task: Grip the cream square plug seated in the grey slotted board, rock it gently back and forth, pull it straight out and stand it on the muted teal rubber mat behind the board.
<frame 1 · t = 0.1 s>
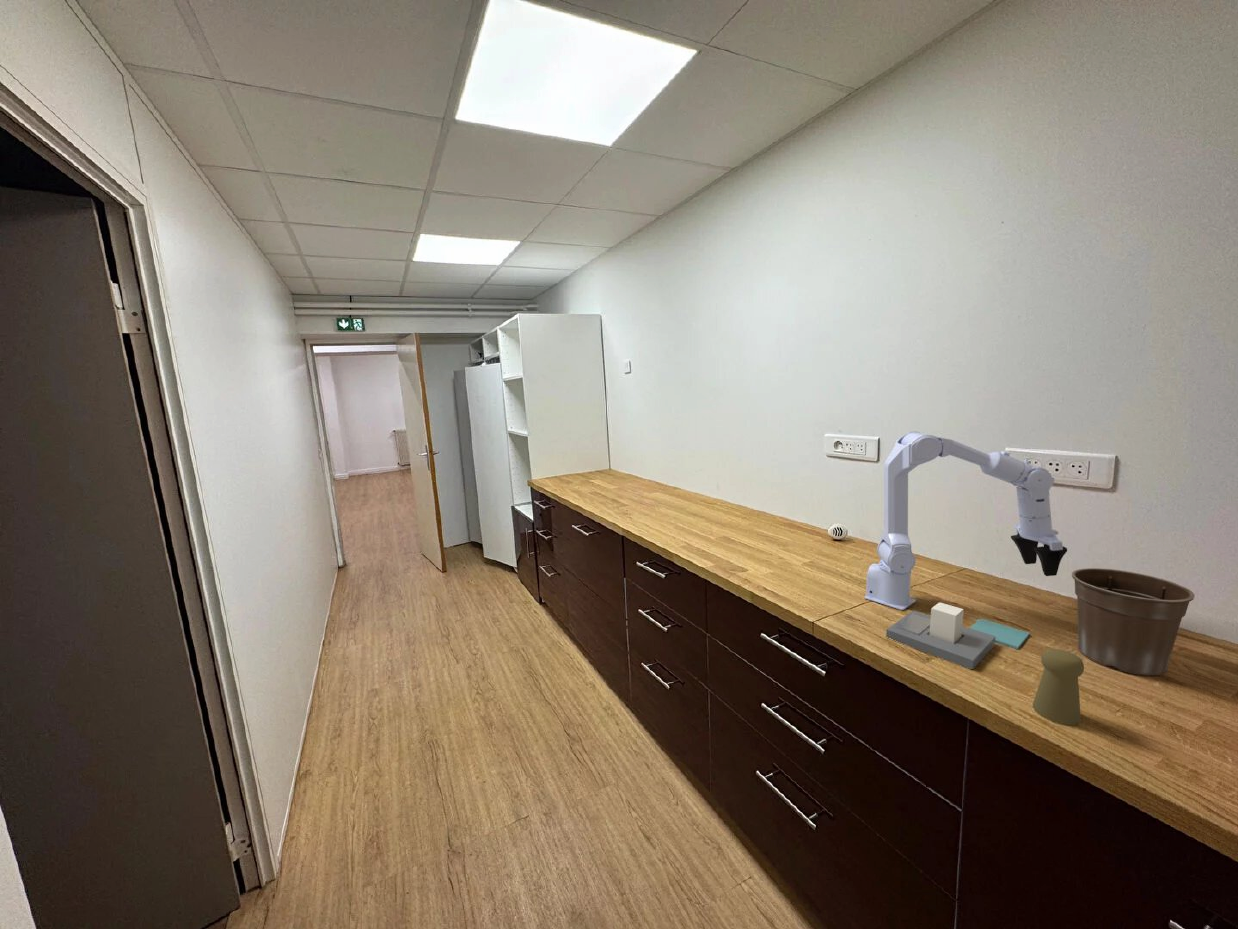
hand: (1040, 569, 113), 11 cm above the worktop, fingers open, 7 cm apart
cork: (1056, 714, 79), on the worktop
plug: (944, 643, 102), resting in grey slotted board
mat: (997, 633, 105), on the worktop
grey slotted board: (929, 637, 104), on the worktop
plant pot: (1118, 659, 94), on the worktop
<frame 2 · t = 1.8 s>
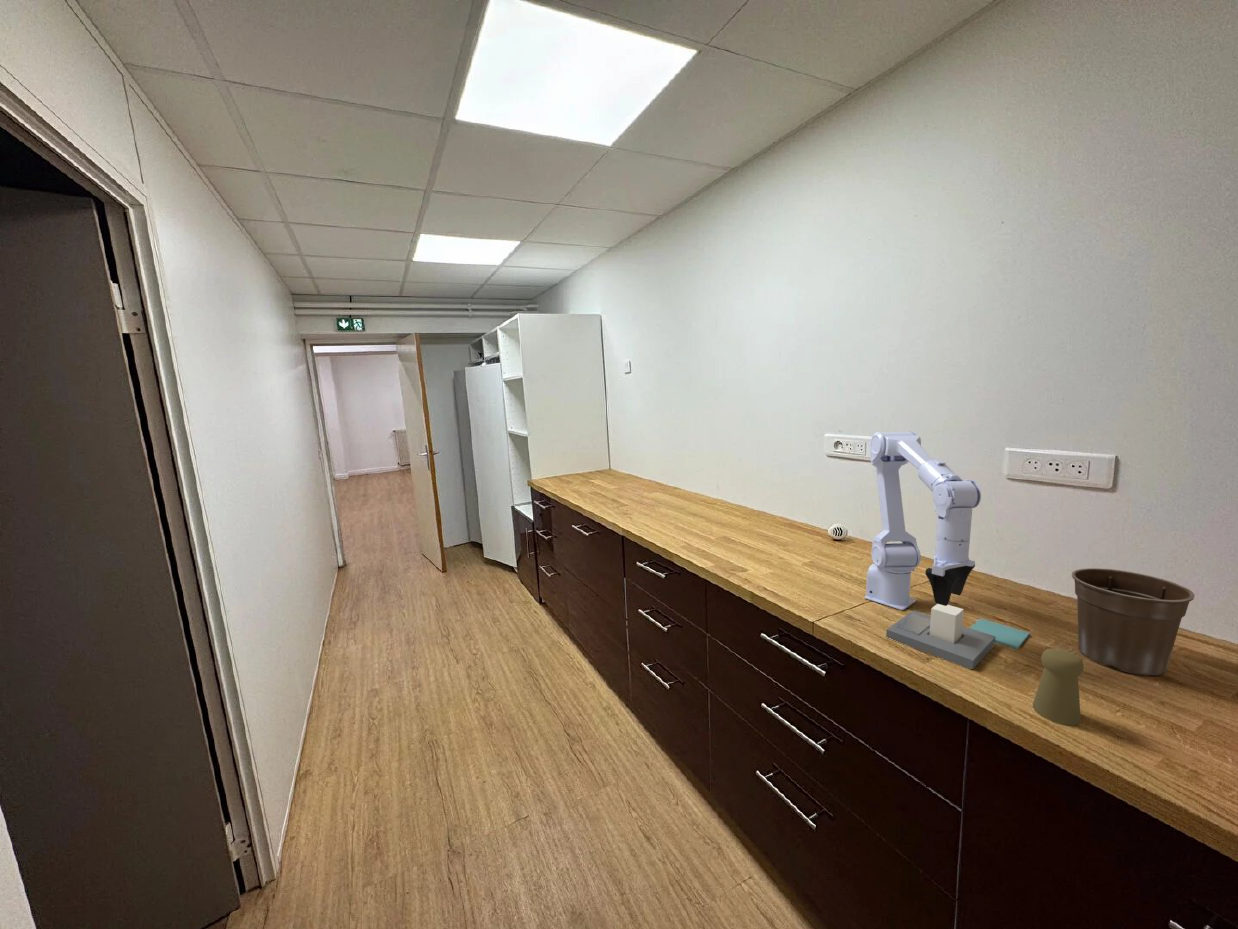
hand: (948, 598, 100), 10 cm above the worktop, fingers open, 7 cm apart
nothing on the worktop moved.
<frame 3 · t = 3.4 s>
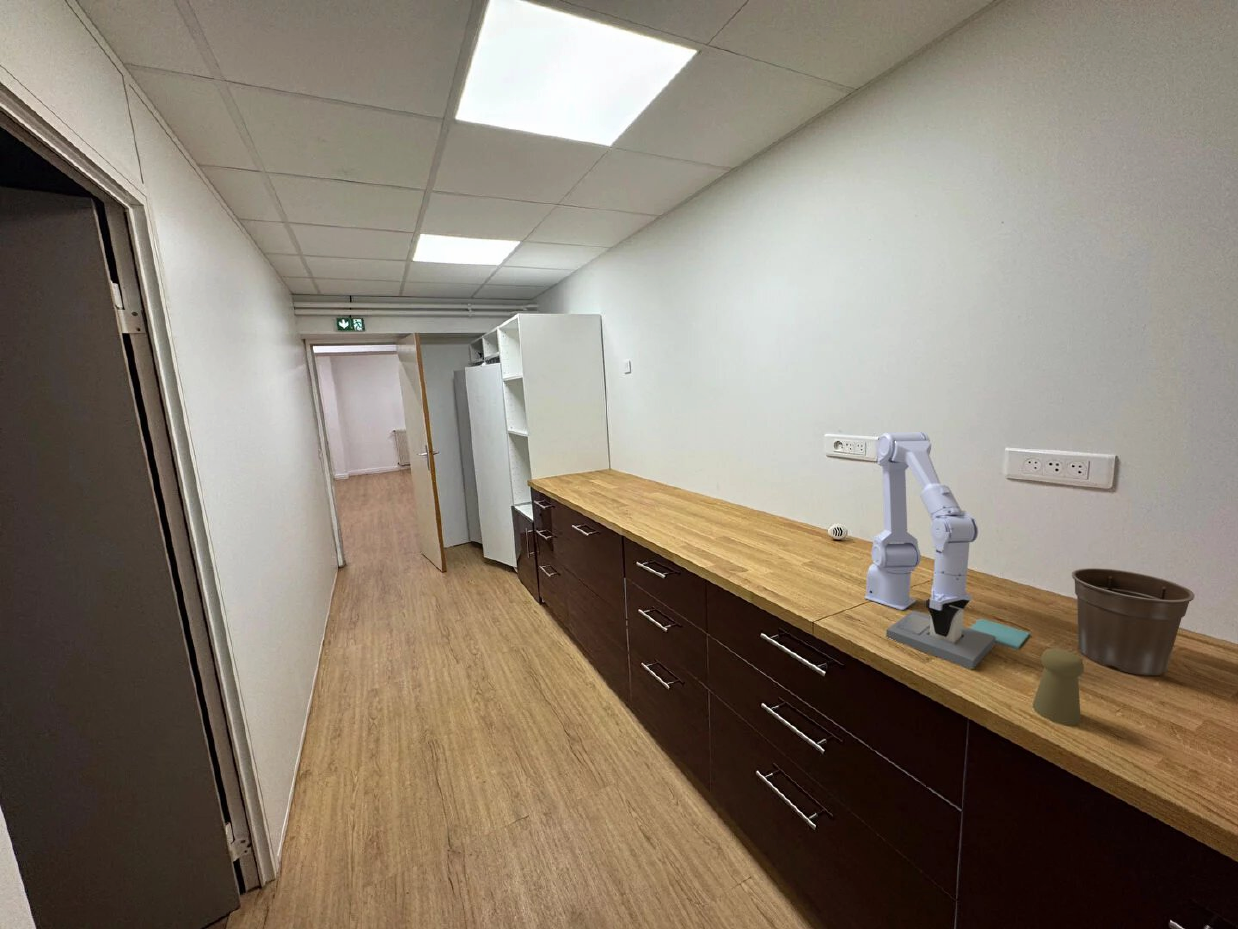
hand: (945, 630, 101), 3 cm above the worktop, fingers closed on plug, 4 cm apart
plug: (944, 643, 102), resting in grey slotted board, touching gripper
everything else where it was.
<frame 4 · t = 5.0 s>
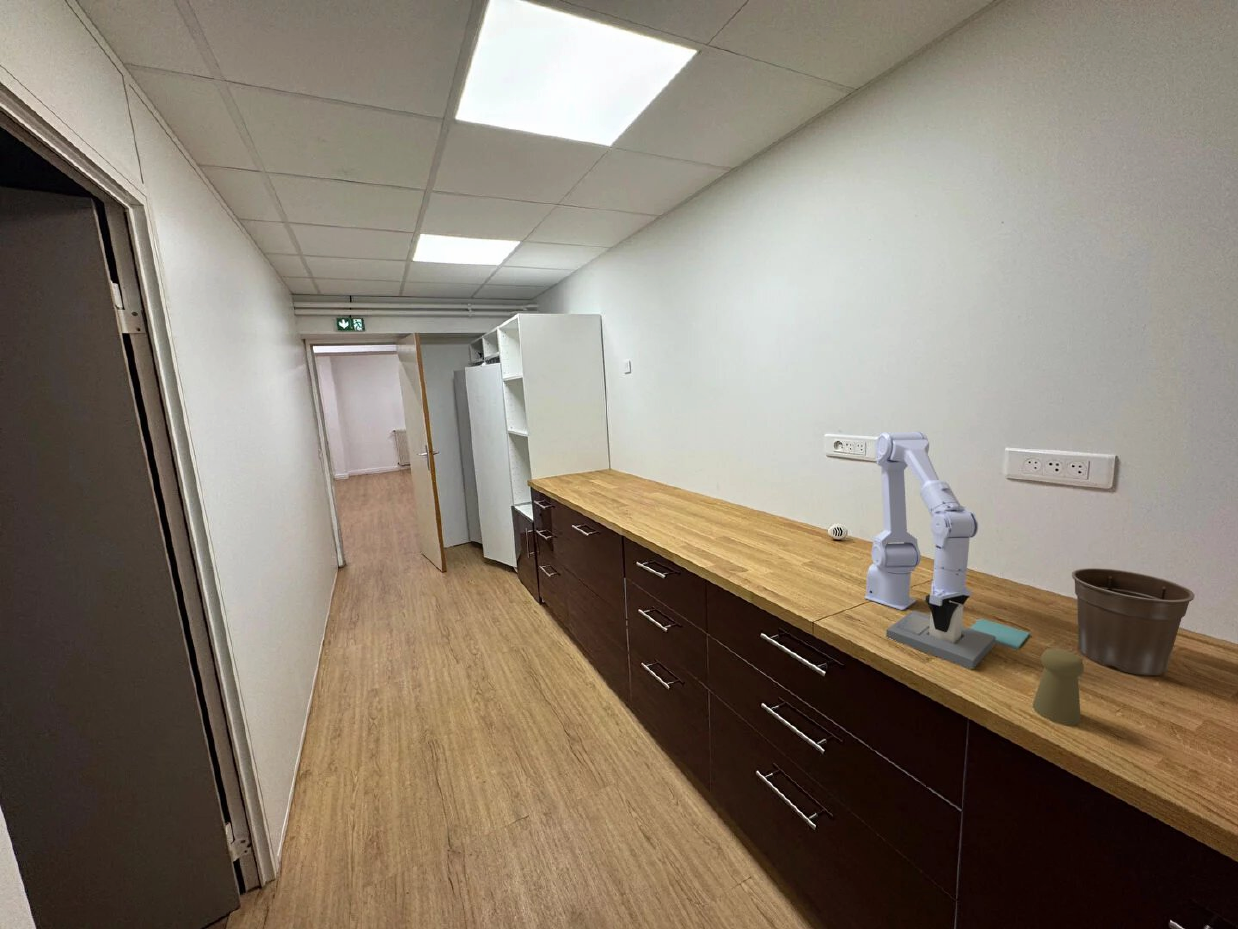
hand: (945, 626, 101), 4 cm above the worktop, fingers closed on plug, 4 cm apart
plug: (944, 639, 102), point 1 cm above the worktop, touching gripper
everything else where it was.
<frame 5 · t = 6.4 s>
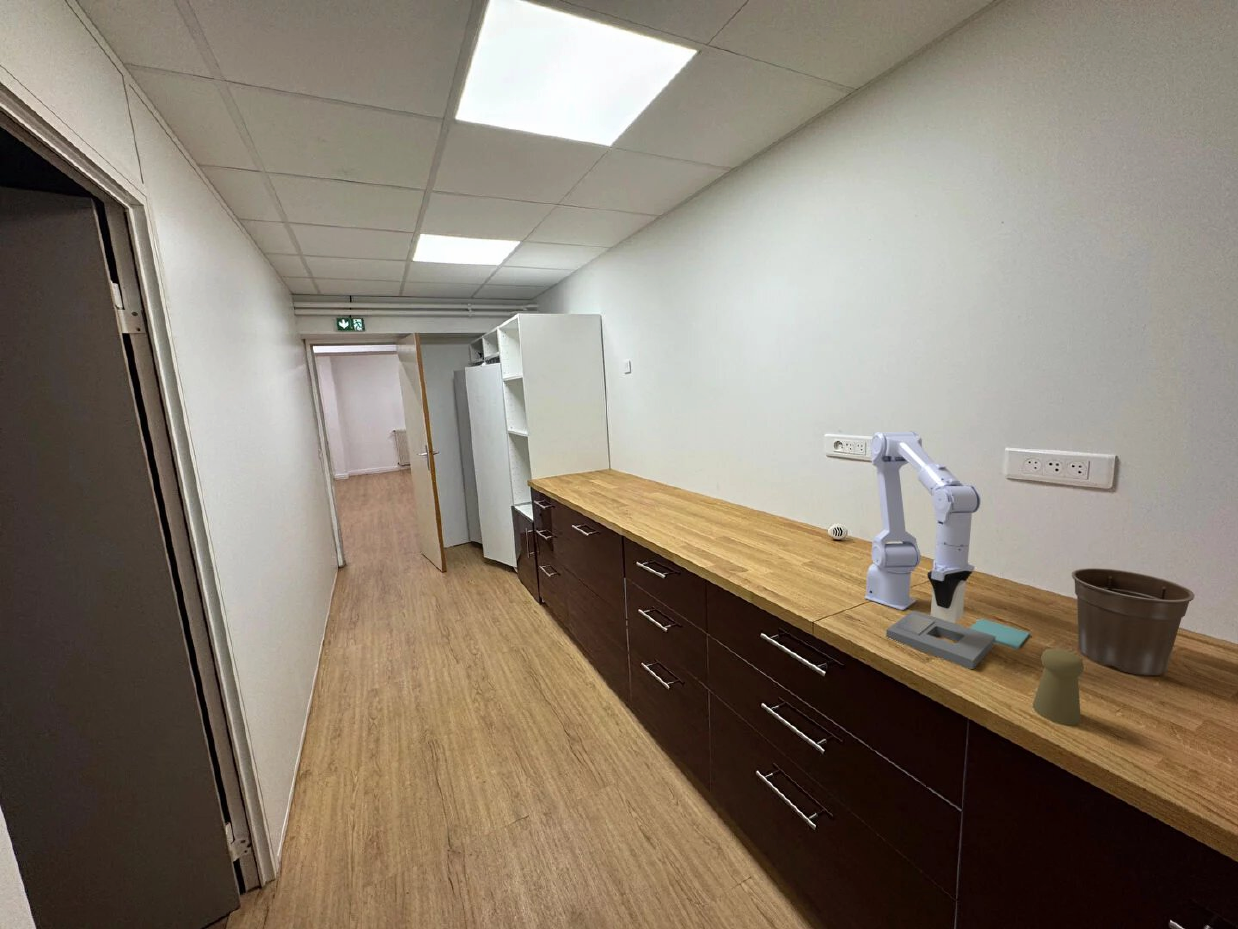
hand: (947, 603, 100), 9 cm above the worktop, fingers closed on plug, 4 cm apart
plug: (946, 616, 101), point 6 cm above the worktop, touching gripper
everything else where it was.
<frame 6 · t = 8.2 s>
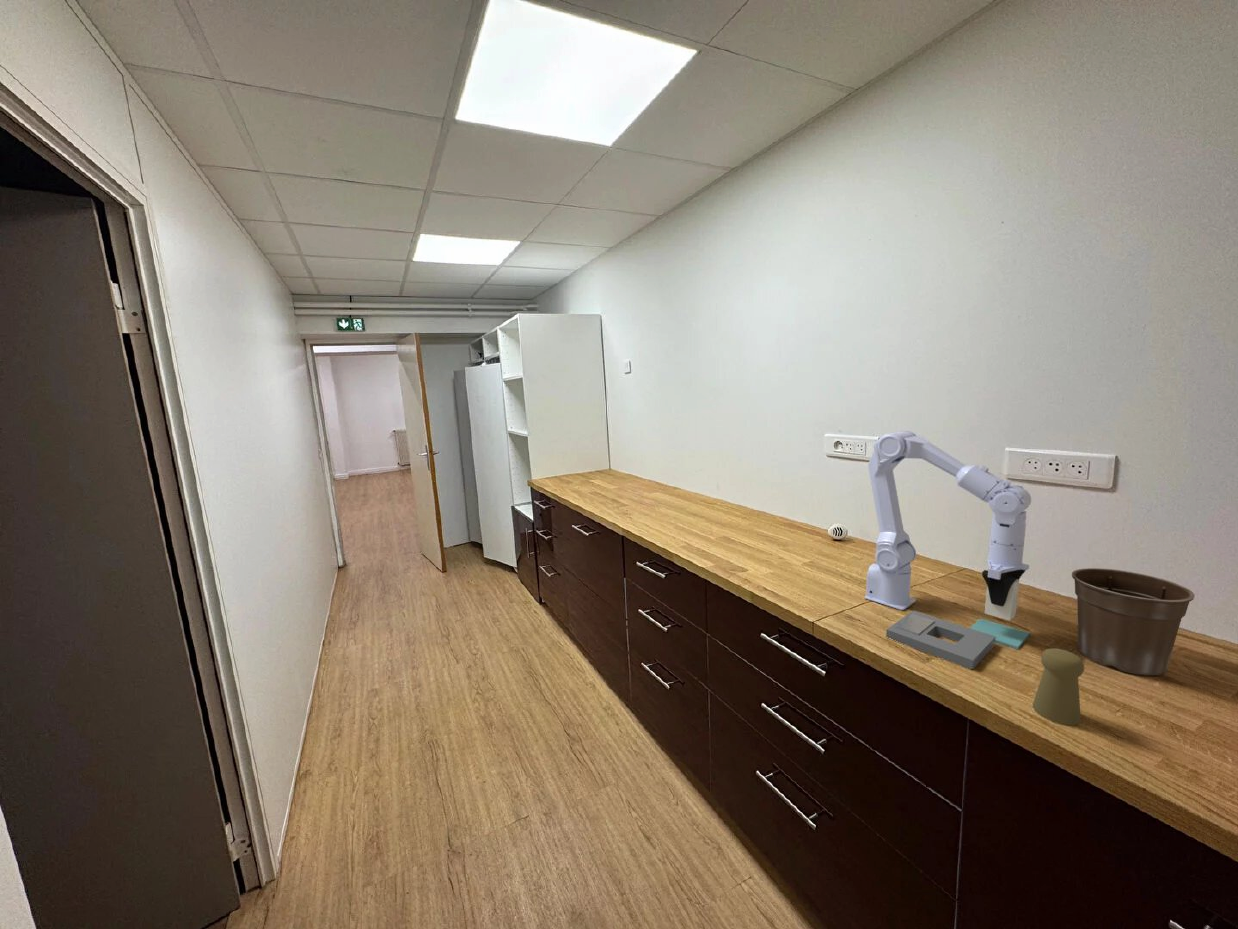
hand: (1001, 601, 104), 8 cm above the worktop, fingers closed on plug, 4 cm apart
plug: (1000, 613, 104), point 5 cm above the worktop, touching gripper
everything else where it was.
when the fingers open (4 cm above the worktop, at t = 9.6 s): plug stays where it is, resting on mat.
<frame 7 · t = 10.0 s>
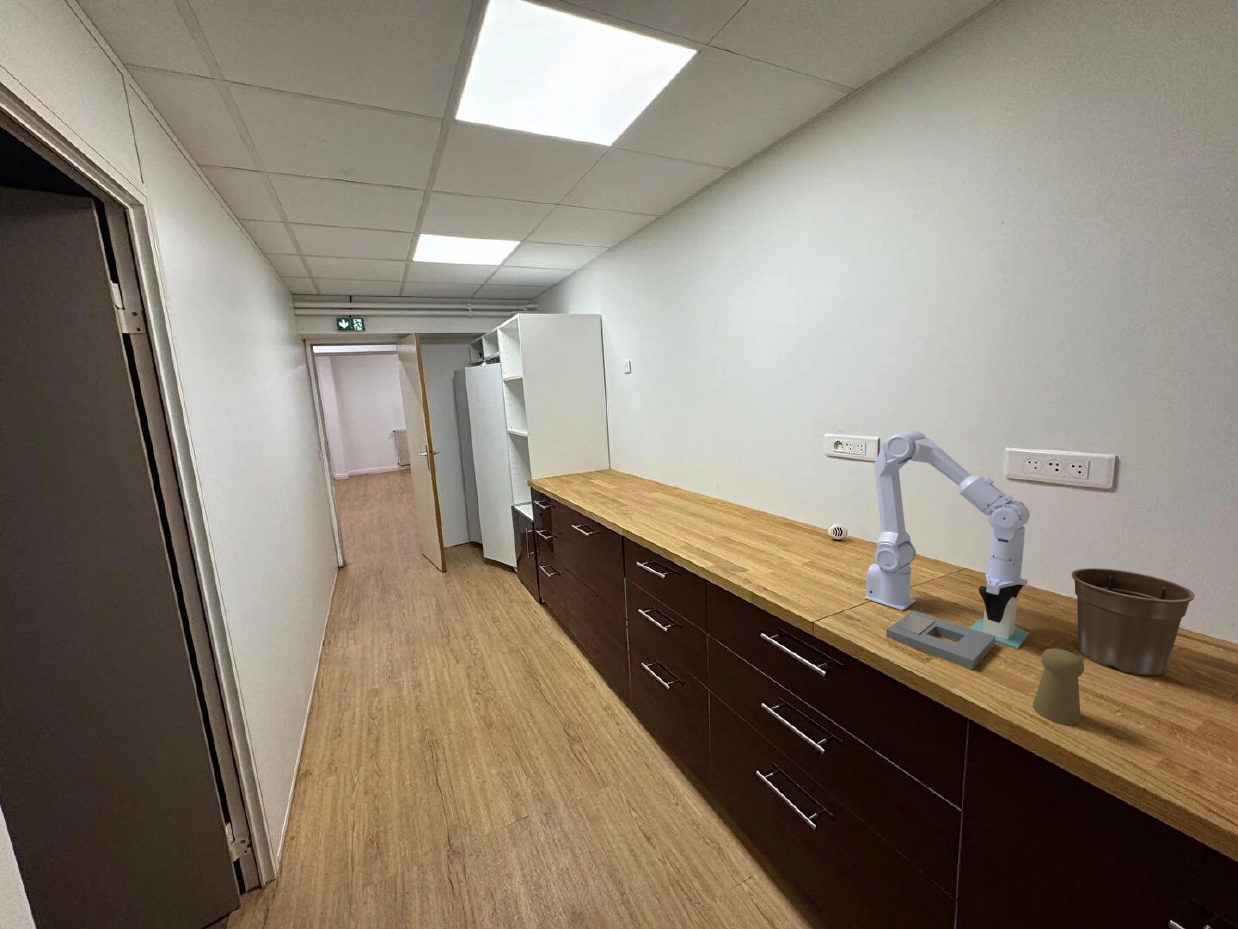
hand: (999, 615, 104), 4 cm above the worktop, fingers open, 7 cm apart
plug: (998, 631, 105), resting on mat
everything else where it was.
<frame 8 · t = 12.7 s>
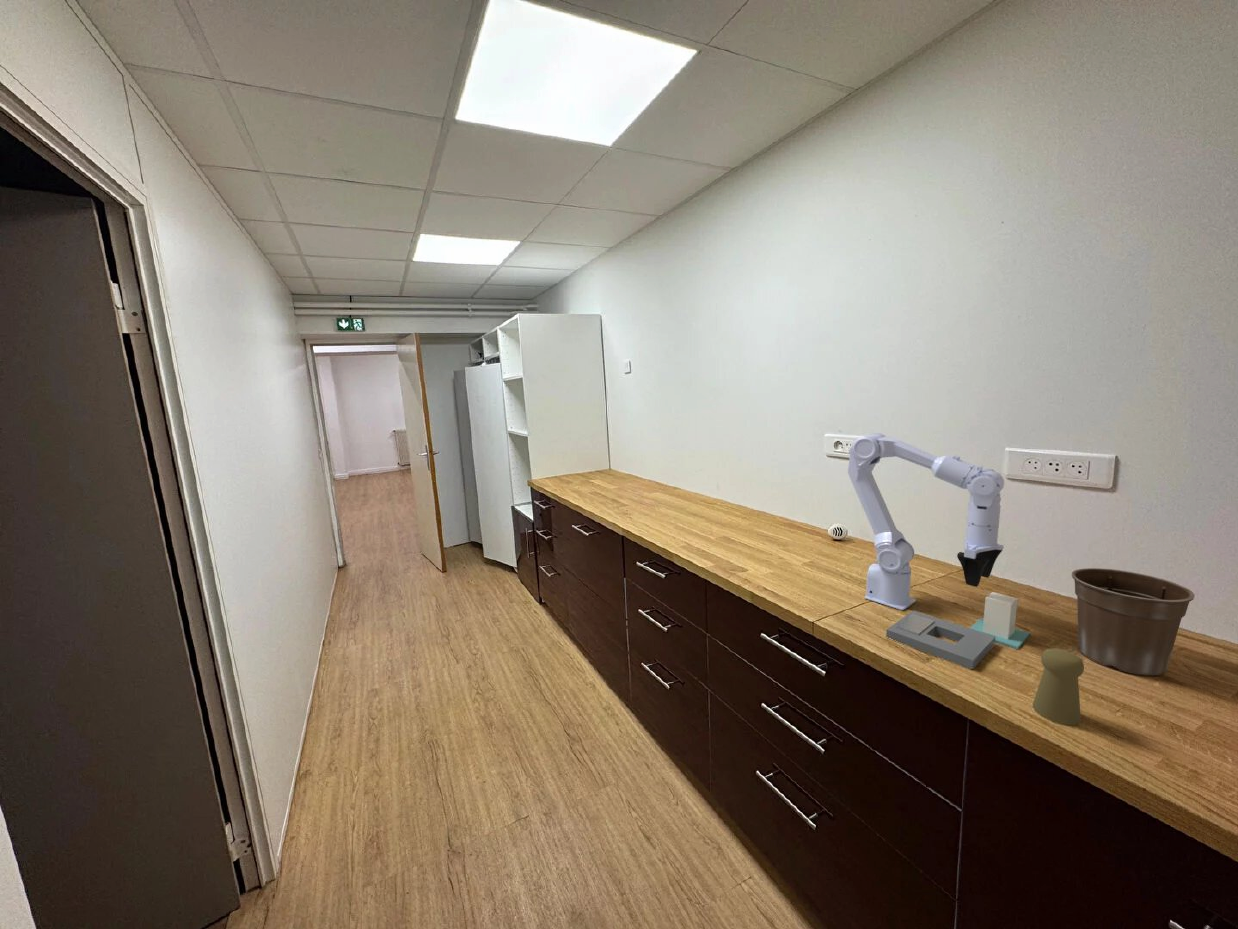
hand: (977, 580, 108), 10 cm above the worktop, fingers open, 7 cm apart
nothing on the worktop moved.
at the end: plug inside the target area on the mat (0.0 cm from its centre), point 0.5 cm above the mat's base; plug tilted 0°; plug touching mat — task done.
